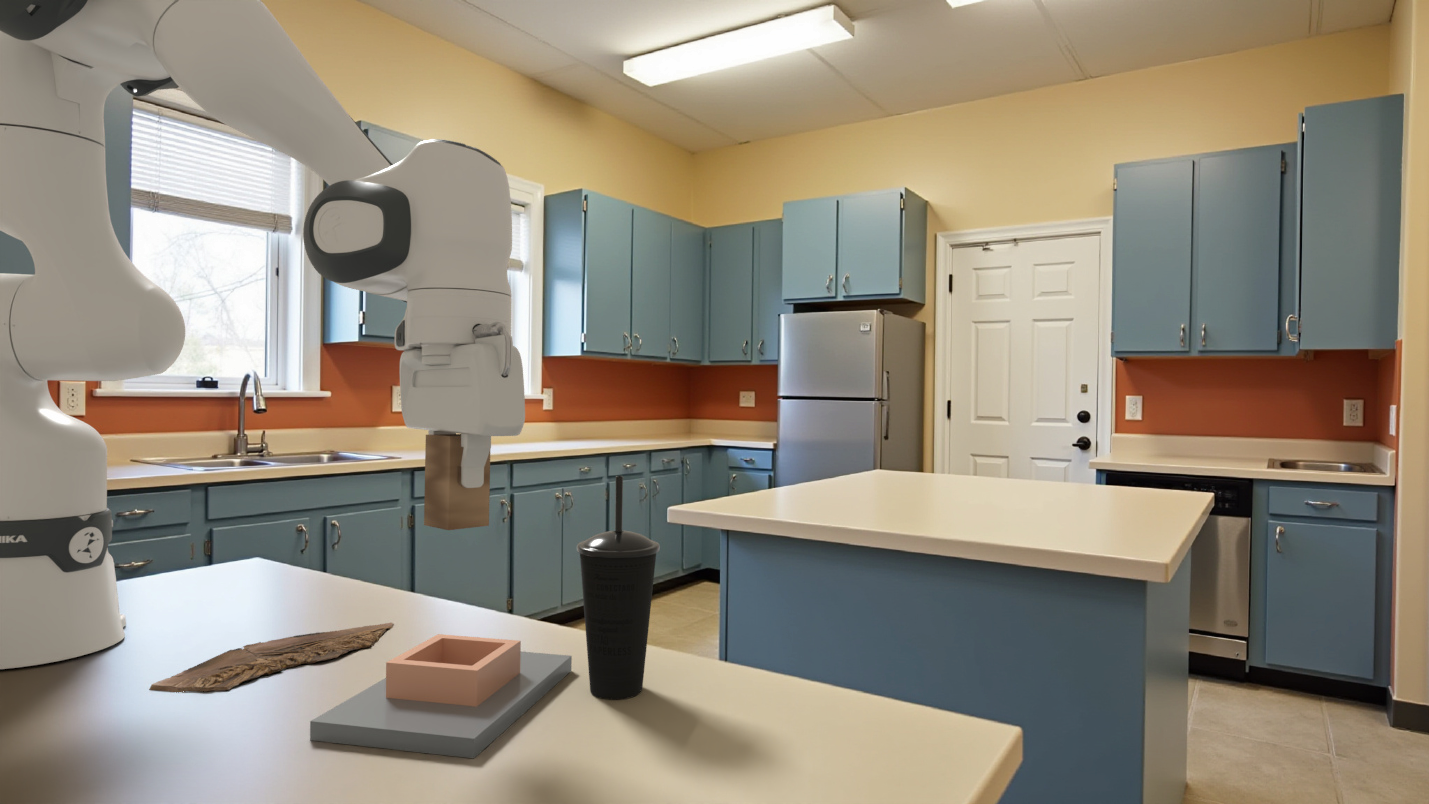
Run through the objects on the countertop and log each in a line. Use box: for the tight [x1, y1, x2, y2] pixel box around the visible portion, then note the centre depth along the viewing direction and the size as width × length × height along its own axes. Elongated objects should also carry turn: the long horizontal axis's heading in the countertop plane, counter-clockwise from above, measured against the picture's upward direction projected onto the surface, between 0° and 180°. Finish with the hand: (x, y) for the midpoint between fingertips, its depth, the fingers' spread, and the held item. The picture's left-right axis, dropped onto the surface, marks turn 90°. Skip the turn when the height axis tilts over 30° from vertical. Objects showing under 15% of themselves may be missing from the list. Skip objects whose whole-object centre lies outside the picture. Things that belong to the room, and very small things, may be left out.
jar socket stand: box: [309, 633, 573, 759], centre depth 73 cm, size 14×20×4 cm
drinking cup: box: [576, 475, 661, 700], centre depth 76 cm, size 8×8×20 cm
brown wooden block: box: [423, 433, 491, 531], centre depth 72 cm, size 4×4×8 cm
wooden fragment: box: [148, 622, 395, 694], centre depth 85 cm, size 26×11×1 cm, turn 146°
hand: (457, 484), depth 73 cm, fingers closed on brown wooden block, 4 cm apart
